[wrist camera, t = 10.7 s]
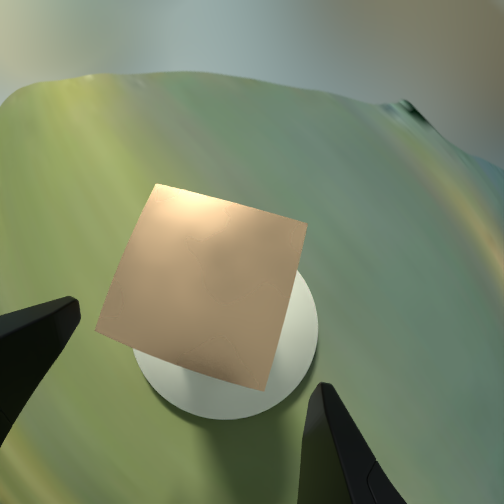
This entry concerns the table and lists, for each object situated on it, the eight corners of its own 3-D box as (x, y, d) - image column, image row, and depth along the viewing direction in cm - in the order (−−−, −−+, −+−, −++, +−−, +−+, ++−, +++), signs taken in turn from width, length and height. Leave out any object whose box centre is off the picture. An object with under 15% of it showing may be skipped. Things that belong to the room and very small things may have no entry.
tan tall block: (246, 368, 19) (264, 391, 7) (179, 347, 19) (94, 330, 7) (265, 303, 21) (307, 223, 9) (200, 283, 21) (156, 183, 9)
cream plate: (333, 388, 20) (338, 390, 19) (156, 428, 18) (152, 431, 17) (286, 226, 24) (288, 220, 23) (125, 260, 22) (120, 255, 21)
